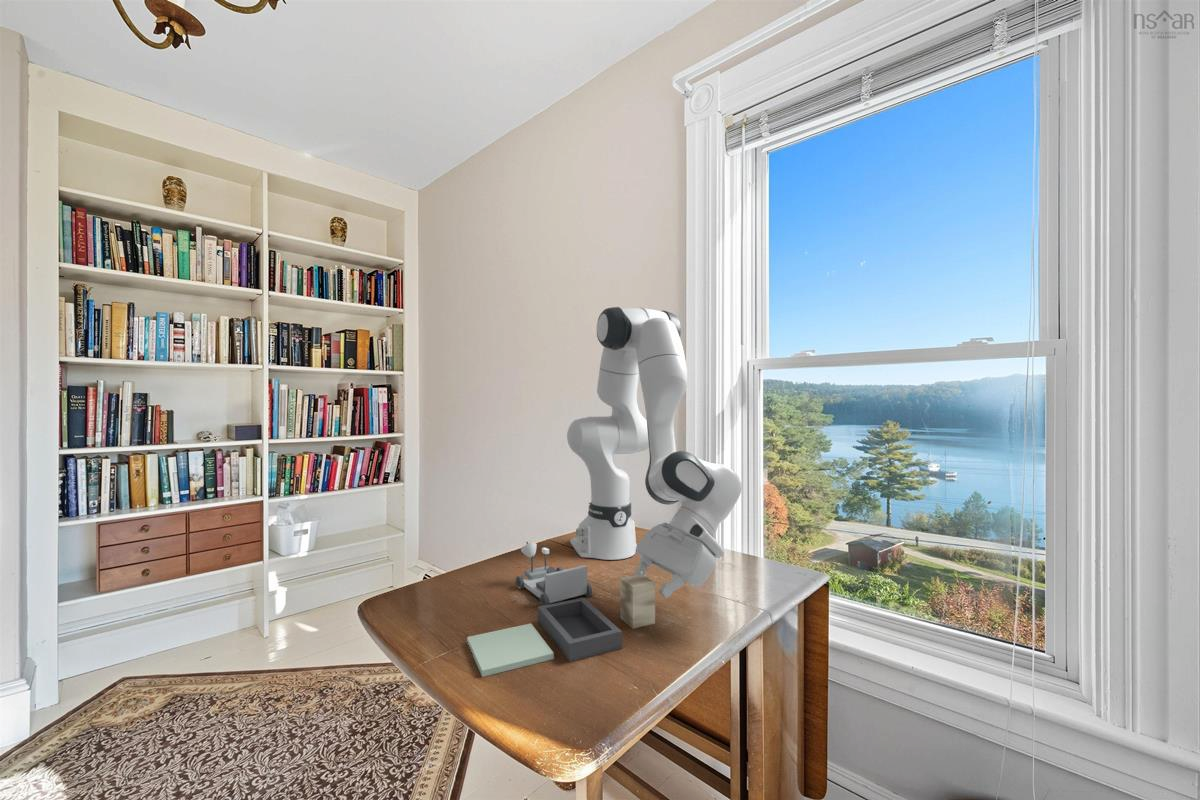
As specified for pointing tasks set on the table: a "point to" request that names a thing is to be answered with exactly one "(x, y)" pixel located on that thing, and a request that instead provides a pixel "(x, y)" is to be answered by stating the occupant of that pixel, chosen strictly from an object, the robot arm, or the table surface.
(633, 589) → the birch block
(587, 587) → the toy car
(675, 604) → the table surface
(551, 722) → the table surface
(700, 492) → the robot arm
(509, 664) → the pad
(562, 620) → the tray
